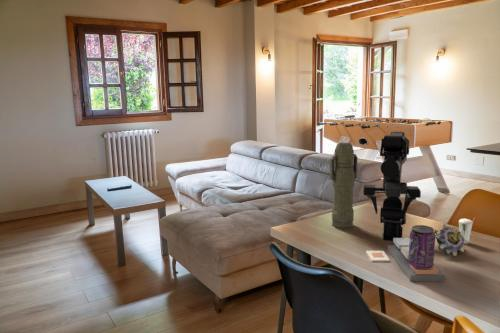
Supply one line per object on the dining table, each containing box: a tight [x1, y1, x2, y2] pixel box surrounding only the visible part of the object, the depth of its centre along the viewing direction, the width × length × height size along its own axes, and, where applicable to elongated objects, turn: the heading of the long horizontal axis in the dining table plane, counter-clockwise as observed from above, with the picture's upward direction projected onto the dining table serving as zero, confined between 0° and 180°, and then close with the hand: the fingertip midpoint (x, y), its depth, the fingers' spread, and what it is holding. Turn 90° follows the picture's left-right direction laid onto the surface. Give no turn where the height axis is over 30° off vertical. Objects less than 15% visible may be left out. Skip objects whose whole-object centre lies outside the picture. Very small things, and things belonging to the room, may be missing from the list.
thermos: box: [329, 142, 358, 230], centre depth 171 cm, size 9×12×35 cm
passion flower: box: [434, 222, 468, 258], centre depth 145 cm, size 11×11×12 cm
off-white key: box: [401, 247, 409, 259], centre depth 135 cm, size 6×6×1 cm
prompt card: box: [365, 250, 391, 263], centre depth 142 cm, size 8×6×1 cm
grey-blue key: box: [392, 237, 410, 249], centre depth 143 cm, size 6×6×1 cm
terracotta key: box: [409, 263, 440, 274], centre depth 127 cm, size 6×6×1 cm
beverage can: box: [408, 224, 436, 269], centre depth 125 cm, size 7×7×12 cm
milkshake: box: [458, 217, 476, 245], centre depth 152 cm, size 4×5×10 cm
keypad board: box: [387, 244, 446, 282], centre depth 135 cm, size 24×10×2 cm, turn 178°
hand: (390, 214), depth 146 cm, fingers open, 9 cm apart
